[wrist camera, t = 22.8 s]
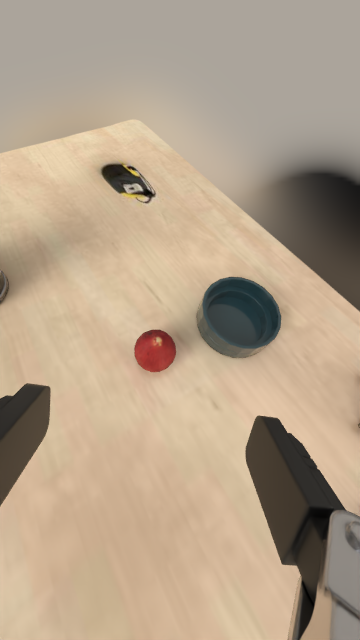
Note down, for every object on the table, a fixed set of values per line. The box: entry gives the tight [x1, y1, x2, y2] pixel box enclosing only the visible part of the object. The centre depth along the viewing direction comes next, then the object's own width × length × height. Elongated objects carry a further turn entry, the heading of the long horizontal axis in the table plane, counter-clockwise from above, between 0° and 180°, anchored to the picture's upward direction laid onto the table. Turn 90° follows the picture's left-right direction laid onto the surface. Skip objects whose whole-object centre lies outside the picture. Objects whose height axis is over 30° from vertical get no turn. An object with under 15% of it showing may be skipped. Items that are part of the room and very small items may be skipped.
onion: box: [135, 330, 176, 372], centre depth 35 cm, size 6×6×8 cm
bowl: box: [197, 277, 281, 358], centre depth 42 cm, size 13×13×4 cm
